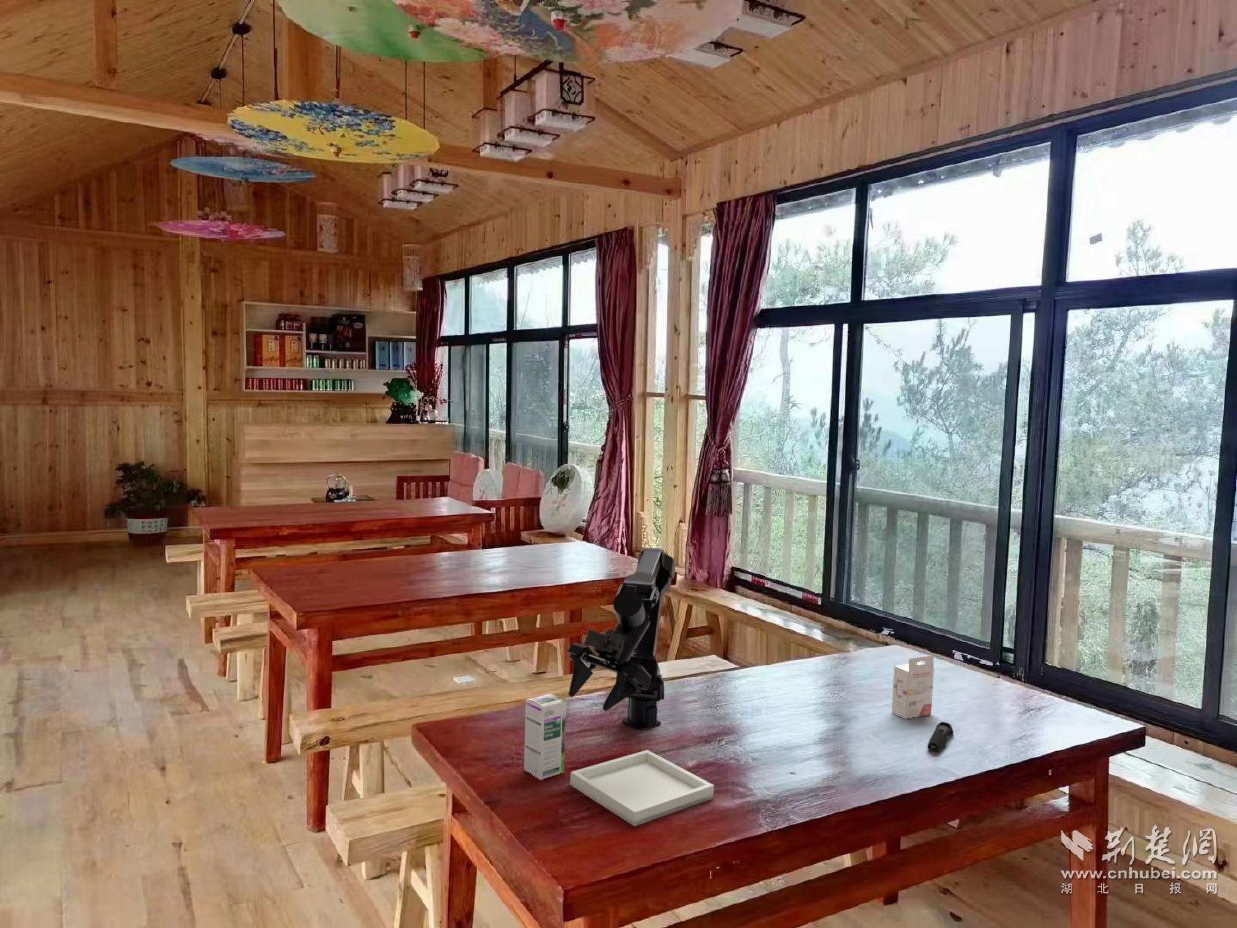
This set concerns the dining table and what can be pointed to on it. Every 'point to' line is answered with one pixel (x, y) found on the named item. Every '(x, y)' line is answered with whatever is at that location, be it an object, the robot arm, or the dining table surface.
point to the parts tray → (641, 787)
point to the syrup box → (545, 736)
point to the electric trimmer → (940, 736)
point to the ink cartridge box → (913, 688)
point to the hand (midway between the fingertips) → (586, 702)
